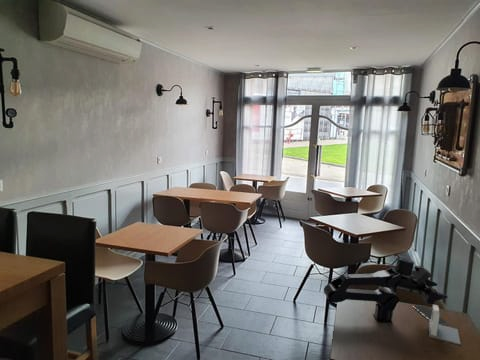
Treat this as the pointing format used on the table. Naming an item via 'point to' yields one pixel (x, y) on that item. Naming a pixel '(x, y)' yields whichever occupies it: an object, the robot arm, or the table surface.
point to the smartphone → (428, 313)
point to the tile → (434, 320)
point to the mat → (446, 334)
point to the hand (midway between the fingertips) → (441, 290)
